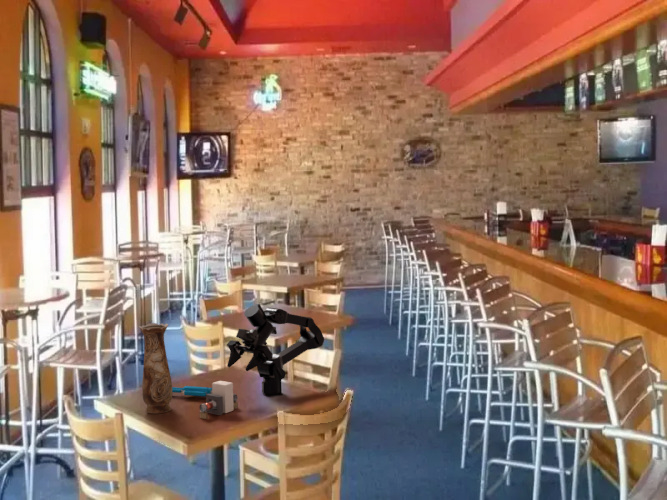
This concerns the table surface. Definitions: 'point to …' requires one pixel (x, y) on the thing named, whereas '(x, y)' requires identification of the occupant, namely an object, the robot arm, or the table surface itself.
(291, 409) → the table surface
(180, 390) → the toy
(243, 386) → the table surface
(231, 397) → the white block
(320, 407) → the table surface
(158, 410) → the vase
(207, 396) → the gray square plate
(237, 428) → the table surface
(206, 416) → the metal cylinder
